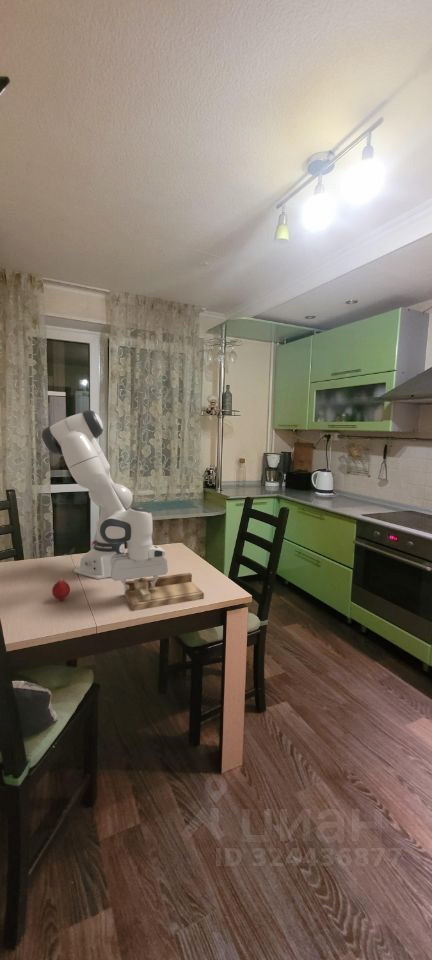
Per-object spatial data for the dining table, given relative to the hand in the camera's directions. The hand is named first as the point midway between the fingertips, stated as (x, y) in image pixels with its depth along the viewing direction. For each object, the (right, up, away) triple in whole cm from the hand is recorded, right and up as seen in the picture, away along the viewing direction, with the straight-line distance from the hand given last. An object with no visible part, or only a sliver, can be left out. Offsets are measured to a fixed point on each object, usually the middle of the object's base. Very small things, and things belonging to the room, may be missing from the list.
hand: (139, 588), depth 138 cm
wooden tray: (+8, -4, +3) cm, 10 cm away
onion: (-27, -4, -3) cm, 28 cm away
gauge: (+2, -2, -2) cm, 3 cm away
